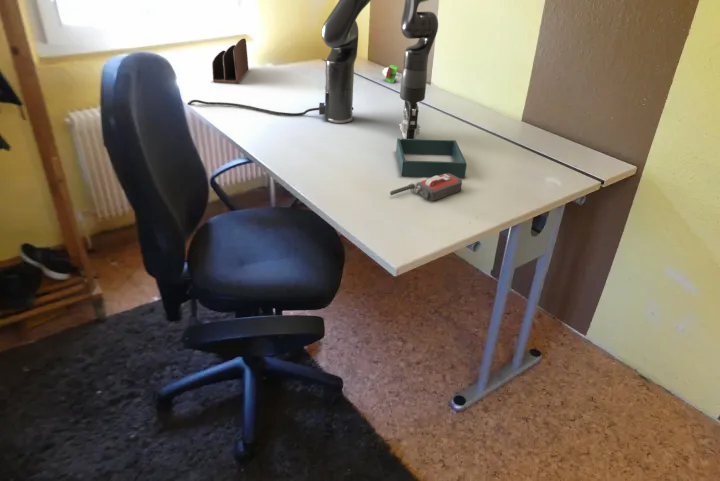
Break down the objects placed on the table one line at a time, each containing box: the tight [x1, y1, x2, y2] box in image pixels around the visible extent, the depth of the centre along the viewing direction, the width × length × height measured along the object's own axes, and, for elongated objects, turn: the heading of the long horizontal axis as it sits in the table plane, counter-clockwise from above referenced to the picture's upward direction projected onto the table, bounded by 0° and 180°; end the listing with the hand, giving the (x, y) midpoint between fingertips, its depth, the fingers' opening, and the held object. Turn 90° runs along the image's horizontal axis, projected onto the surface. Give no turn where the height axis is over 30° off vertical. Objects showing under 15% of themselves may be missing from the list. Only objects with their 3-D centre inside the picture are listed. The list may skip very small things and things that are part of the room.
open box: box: [395, 138, 468, 179], centre depth 157 cm, size 18×17×4 cm
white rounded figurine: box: [399, 119, 421, 139], centre depth 172 cm, size 6×7×7 cm
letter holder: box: [211, 38, 250, 85], centre depth 220 cm, size 10×20×14 cm, turn 178°
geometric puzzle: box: [381, 64, 401, 84], centre depth 227 cm, size 7×7×8 cm
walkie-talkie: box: [389, 173, 463, 202], centre depth 142 cm, size 9×4×20 cm
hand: (408, 134), depth 172 cm, fingers open, 8 cm apart
